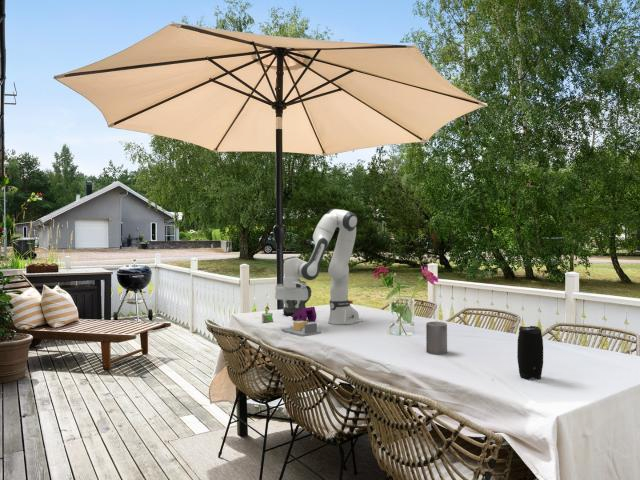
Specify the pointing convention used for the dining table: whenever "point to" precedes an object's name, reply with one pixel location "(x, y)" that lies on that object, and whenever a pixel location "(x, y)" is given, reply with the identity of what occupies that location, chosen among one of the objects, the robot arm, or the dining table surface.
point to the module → (299, 325)
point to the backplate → (304, 330)
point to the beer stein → (291, 304)
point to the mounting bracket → (305, 314)
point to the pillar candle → (436, 338)
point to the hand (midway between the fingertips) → (291, 307)
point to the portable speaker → (530, 352)
